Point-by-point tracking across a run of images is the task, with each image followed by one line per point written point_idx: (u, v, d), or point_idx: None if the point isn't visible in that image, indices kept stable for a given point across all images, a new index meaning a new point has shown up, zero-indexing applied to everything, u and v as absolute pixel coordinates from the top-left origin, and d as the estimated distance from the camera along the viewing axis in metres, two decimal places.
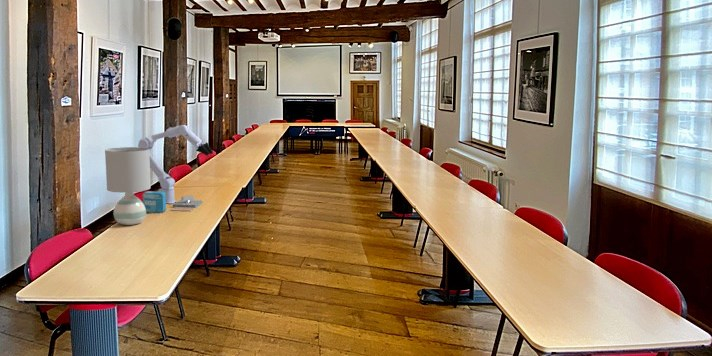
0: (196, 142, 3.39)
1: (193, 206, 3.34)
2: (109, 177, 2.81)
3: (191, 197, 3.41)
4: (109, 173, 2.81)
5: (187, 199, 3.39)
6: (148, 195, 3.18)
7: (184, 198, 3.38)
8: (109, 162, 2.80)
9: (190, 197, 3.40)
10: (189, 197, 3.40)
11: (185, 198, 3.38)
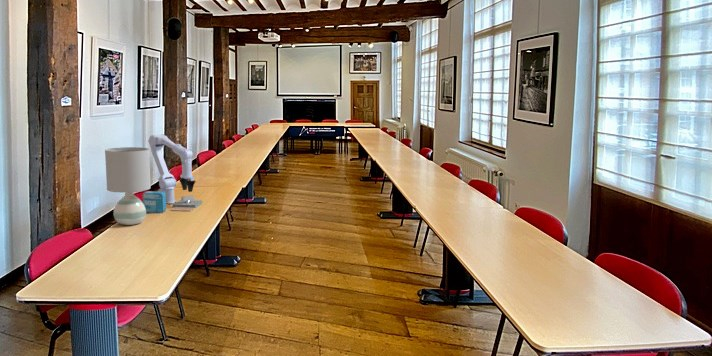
0: (189, 174, 3.36)
1: (193, 206, 3.34)
2: (109, 177, 2.81)
3: (191, 197, 3.41)
4: (109, 173, 2.81)
5: (187, 199, 3.39)
6: (148, 195, 3.18)
7: (184, 198, 3.38)
8: (109, 162, 2.80)
9: (190, 197, 3.40)
10: (189, 197, 3.40)
11: (185, 198, 3.38)
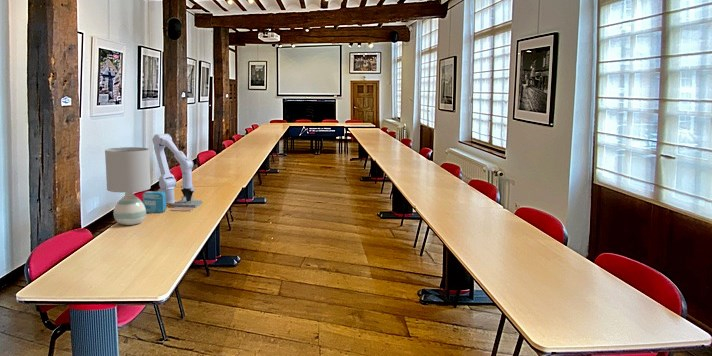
0: (190, 184, 3.37)
1: (193, 206, 3.34)
2: (109, 177, 2.81)
3: (191, 197, 3.41)
4: (109, 173, 2.81)
5: None
6: (148, 195, 3.18)
7: (184, 198, 3.38)
8: (109, 162, 2.80)
9: None
10: None
11: (185, 198, 3.38)
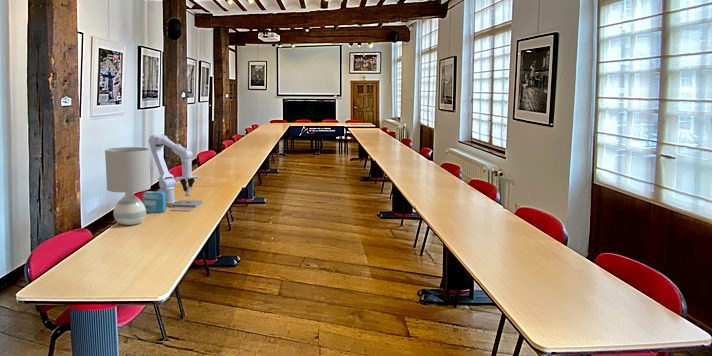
0: (183, 174, 3.36)
1: (193, 206, 3.34)
2: (109, 177, 2.81)
3: (186, 188, 3.37)
4: (109, 173, 2.81)
5: None
6: (148, 195, 3.18)
7: None
8: (109, 162, 2.80)
9: (186, 188, 3.38)
10: None
11: None
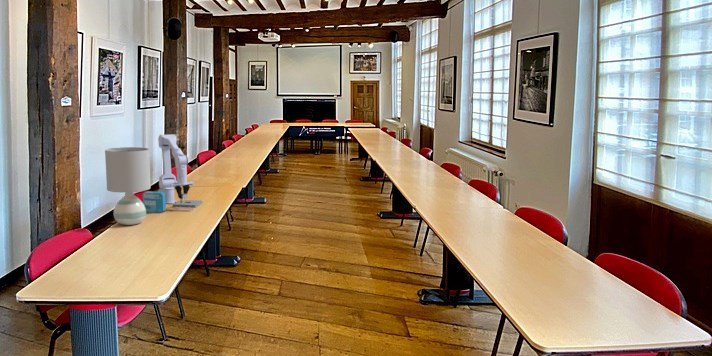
0: (178, 181, 3.24)
1: (193, 206, 3.34)
2: (109, 177, 2.81)
3: (181, 195, 3.25)
4: (109, 173, 2.81)
5: None
6: (148, 195, 3.18)
7: None
8: (109, 162, 2.80)
9: (181, 195, 3.26)
10: None
11: None
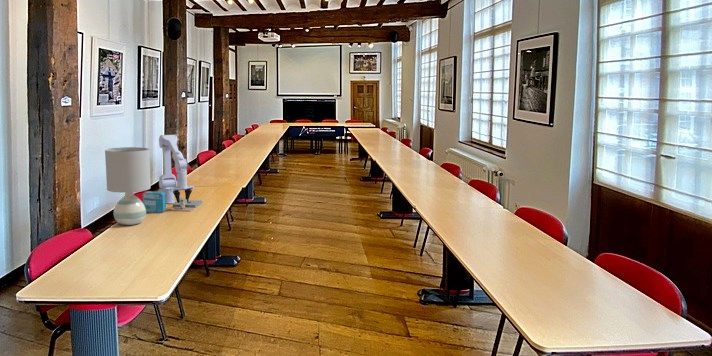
0: (178, 185, 3.25)
1: (193, 206, 3.34)
2: (109, 177, 2.81)
3: (181, 201, 3.26)
4: (109, 173, 2.81)
5: (179, 202, 3.28)
6: (148, 195, 3.18)
7: None
8: (109, 162, 2.80)
9: (181, 200, 3.27)
10: (180, 200, 3.27)
11: None
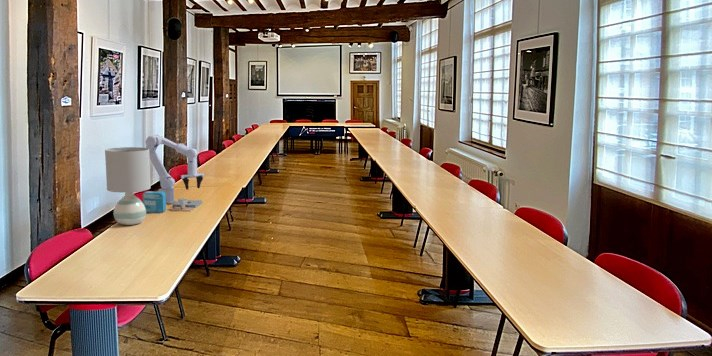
0: (188, 172, 3.43)
1: (193, 206, 3.34)
2: (109, 177, 2.81)
3: (182, 201, 3.26)
4: (109, 173, 2.81)
5: (180, 202, 3.28)
6: (148, 195, 3.18)
7: (178, 200, 3.29)
8: (109, 162, 2.80)
9: (181, 200, 3.26)
10: (181, 200, 3.27)
11: (179, 200, 3.29)
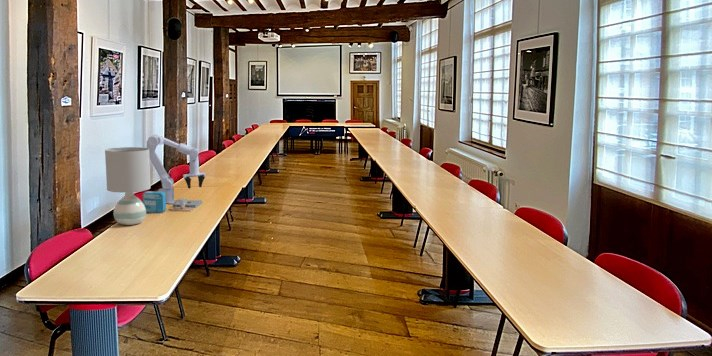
0: (190, 172, 3.46)
1: (193, 206, 3.34)
2: (109, 177, 2.81)
3: (181, 201, 3.26)
4: (109, 173, 2.81)
5: (179, 202, 3.28)
6: (148, 195, 3.18)
7: (178, 200, 3.29)
8: (109, 162, 2.80)
9: (181, 200, 3.27)
10: (180, 200, 3.27)
11: (178, 200, 3.29)
